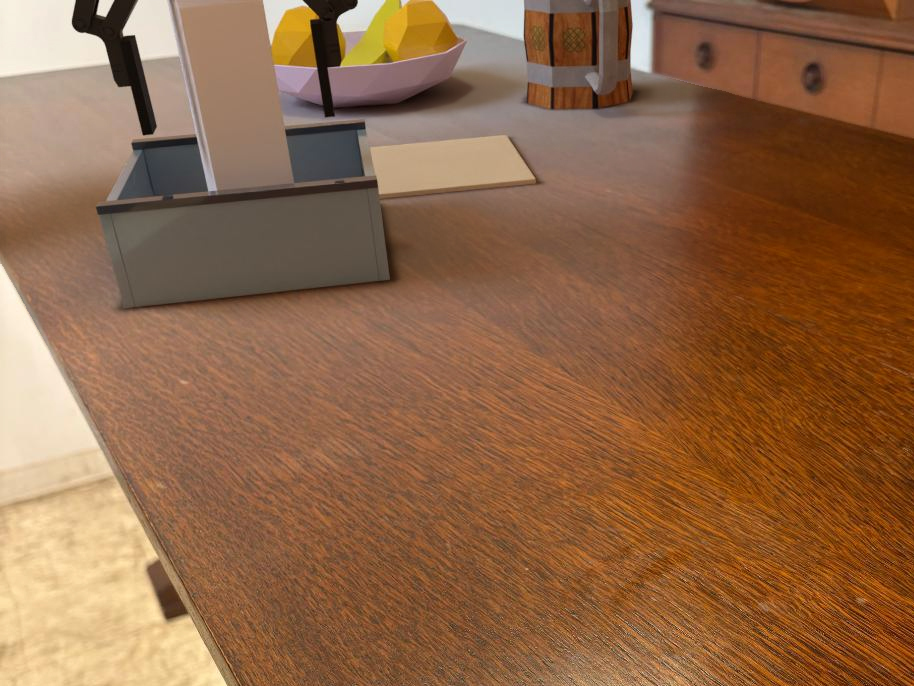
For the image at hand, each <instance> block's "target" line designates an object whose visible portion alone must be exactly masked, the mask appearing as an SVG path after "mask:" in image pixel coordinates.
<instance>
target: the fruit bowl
mask: <svg viewBox="0 0 914 686" xmlns="http://www.w3.org/2000/svg"><path fill="white" fill-rule="evenodd" d="M311 19H319V16H318V15H317V14H316V13H315V12H314V11H313V10H312V9H311V8H310V7H309V6H308V5H307V6H306V5H300V6H296V7H293V8H290V9H289V8H288V9H287V10H285V11H284V13H283V15H282V17H281V19H280V21H279V23H278V25H277V27H276V29H275V31H274V33H273V37H272V40H271V41H272V42H271V51H272V57H273V63H274V69H275V74H276V80H277V86H278V92H279V93H280V92H281V93H283V94H286V95H289V96H292V97H295V98H299V99H301V100H304V101H306V102H310V103H313V104H316V105H319V106H322V107H323V102H322V96H321V90H320V83H319V77H318V71H317V64H316V58H315V52H314V45H313V39H312V33H311V26H310V20H311ZM337 30H338V37H339V44H340V51H341V58H342V60H341V65H340V67H331V68H328V74H329V80H330V87H331V93H332V100H333V106H334V109H336V108H349V107H350V108H351V107H365V106H378V105H379V106H381V105H394V104H396V105H397V104H399V103H402V102H404V101H407V100H408V99H410V98H412V97H414V96H416V95H418V94H420V93H422V92H424V91H426V90H427V89H430V88H432V87H434V86H436V85H439V84H440V83H442V82H444V81H446V80H448V79H450V78H451V76H452V74H453V72H454V70H455V68H456V66H457V64H458V62H459V59H460V57H461V55H462V53H463V50H464V49H465V47H466V44H467V43H468V39H466V38H464V37H461V36H459V35H457V34H456V32H455V31H454V28H453V26H452V25H451V22H450V21H449V18H448V16H447V14H446V13H445V12H443V10H442V9H441V8H440V7H439V6H438V5H437V3H435V1H433V0H408V1H406V3H405V4H404V5H403V4H402V0H385V1H384V2H383V4H382V5H381V7H380V8H379V9H378V10H377V12H376V13H375V15H373V17H372V19H371V21H370V23H369V25H368V27H367V29H366V30H359V31H342V29H341V27H340V24H339V23H337Z"/></svg>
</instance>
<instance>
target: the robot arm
mask: <svg viewBox="0 0 914 686" xmlns="http://www.w3.org/2000/svg"><path fill="white" fill-rule="evenodd" d="M138 1H139V0H113V1H112V3H111V6H110V8H109V10H108V11H107V14H106V15H105V16H104V15H100V14H98V10H99V5H100V0H75V1H74V6H73V11H72V12H73V13H72V17H71V26H72V29H74V30H75V31H76V32H77V33H80V34H88V35H90V36H94V37H98V39H100V40H101V41H102V42H103V45H104V46H105V51H106V54H107V59H108V62H109V66H110V70H111V73H112V77H113V81H114V83H115V85H116V86H117V88H127V87H130V90H131V94H132V98H133V103H134V105H135V110H136V113H137V118H138V122H139V127H140V131H141V135H142V136H151V135H154V133H155V131H156V130H157V128H158V125H157V120H156V116H155V112H154V108H153V103H152V99H151V95H150V92H149V91H150V90H149V87H148V83H147V79H146V75H145V70H144V67H143V63H142V58H141V55H140V50H139V46H138V42H137V37H136V34H130V35H124V29H125V27H126V25H127V23H128V22H129V19H130V18H131V16H132V14H133V11H134V10H135V8H136V6H137V4H138ZM302 2H304V4H306V5H307V7H310V8H311V9H312V10H313V11H314V12H315V13H316V14H317V15H318V16H319V19H311V20H310V26H311V33H312V39H313V45H314V52H315V58H316V64H317V71H318V77H319V83H320V90H321V96H322V102H323V106H322V108H323V115H324V118H334V117H335V116H336V115H335V108H334V106H333V100H332V93H331V87H330V80H329V74H328V68H331V67H340V65H341V60H342V58H341V51H340V44H339V37H338V30H337V24H338V19H339V18H340V17H341V15H343V14H345V13H347V12H348V11H352V10H355V9H356V8H357V6H358V3H359V0H302Z"/></svg>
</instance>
